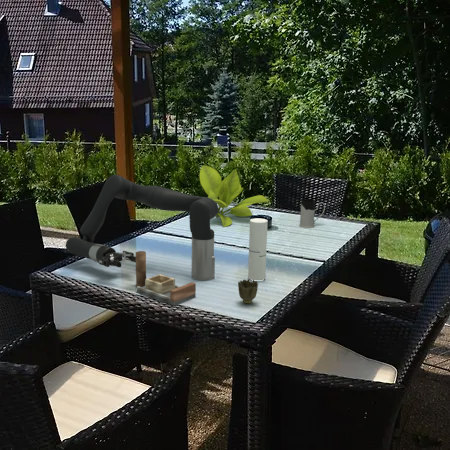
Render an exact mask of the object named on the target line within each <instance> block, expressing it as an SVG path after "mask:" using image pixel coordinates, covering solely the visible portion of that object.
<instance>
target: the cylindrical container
mask: <svg viewBox="0 0 450 450" xmlns="http://www.w3.org/2000/svg"><path fill="white" fill-rule="evenodd" d="M248 236H249V238H248V239H249V241H248V265H247V267H248V269H247V270H248V272H247V279H248V278H249V279H252V280H263V279H265V280H266V270H267V269H266V268H267V266H266V265H267V249H268V248H267V246H268V245H267V243H268V220H267V219H265V218H258V217H257V218H256V217H255V218H250V220H249V235H248ZM249 279H248V280H249Z"/></svg>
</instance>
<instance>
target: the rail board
mask: <svg viewBox="0 0 450 450" xmlns="http://www.w3.org/2000/svg"><path fill="white" fill-rule="evenodd" d="M196 285H197V283H195V282H192V281H191V282H189V283H185V284H183V285H181V286H179V285H176V284H175V289H173V290H170V291H168V292H165V293H163V294H159V293H157V292H154V291H151V290H148V289H145V286H143V287H139V286H138V287H136V294H139V295H143V296H146V297H148V298H150V299H154V300H156V301H159V302H162V303H164V302H165V303H164V304H167V303H168V305H170V306H174V307H176V306H178V305H181V304H182V303H185V302H187V301H189V300H192V299H194V298H196V295H197V294H196V293H197V292H196V289H197V286H196ZM175 305H176V306H175Z"/></svg>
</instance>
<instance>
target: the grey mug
mask: <svg viewBox="0 0 450 450" xmlns="http://www.w3.org/2000/svg"><path fill="white" fill-rule="evenodd" d="M321 204H323V206H324V207H323V211H322V213H321V214H320V215H319V216H318V217H316V219H315V213H316V211H317V210H318V209H319V205H321ZM316 206H317V207H316ZM315 208H316V209H315ZM325 210H326V204H325V203H324V202H318V204H317V205H316V199H313V198H312V199H310V198H303V199H301V204H300V218H299V222H300V223H299V225H298V227H300V228H304V229H312V228H315V227H316V226H315V223H316V221H317V220H318V219H320V218H321V217H322V216H323V214H324V213H325Z"/></svg>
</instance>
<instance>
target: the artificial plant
mask: <svg viewBox="0 0 450 450" xmlns="http://www.w3.org/2000/svg"><path fill="white" fill-rule="evenodd" d="M199 182H200V185H201V187H202V189H203V190H204V192H205V193H206V195H208V196H207V197H208V198H211V199H213V200H214V201H215V202H216V203H217V205H218V213H217V215H216V216H215V218H220V219H221V222H222V226H223V228H226V227H228V226H230V225H232V224H233V220H232V218H230V217H229V216H228V215H229V214H231V215H233V216H236V217H242V218H243V217H244V218H245V217H250V216H253V212H252V210H251V208H249V206H250V205H253V204H262V203H266V202H267V203H268V202H269V201H270V200H269V199H268V198H267V197H265V196H264V195H255V196H251V197H247V198H245V199H243V200H242V201H240V202H239V203H237V204H236V205H234V206H232V207H230V208H228V207H229V206H230V205H231V204H232V202H233V201H234V200H235V199H236V198H237V197H238V196H239V195H240V194H241V193H242V192H243V190H244V187H242V186H241V183H240V178H239V174H238V171H237V169H233V170H232V171H231V172H230V173H229V175H227V176H226V177H225V178H224V179H223V180H222V177H221V175H220V173H219V172H218V171H217V170H216V169H215V168H214V167H211V166H209V165H208V166H207V165H205V164H204V165H202V166H201V168H200V170H199ZM226 208H228V209H226ZM224 209H225V210H224Z"/></svg>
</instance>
